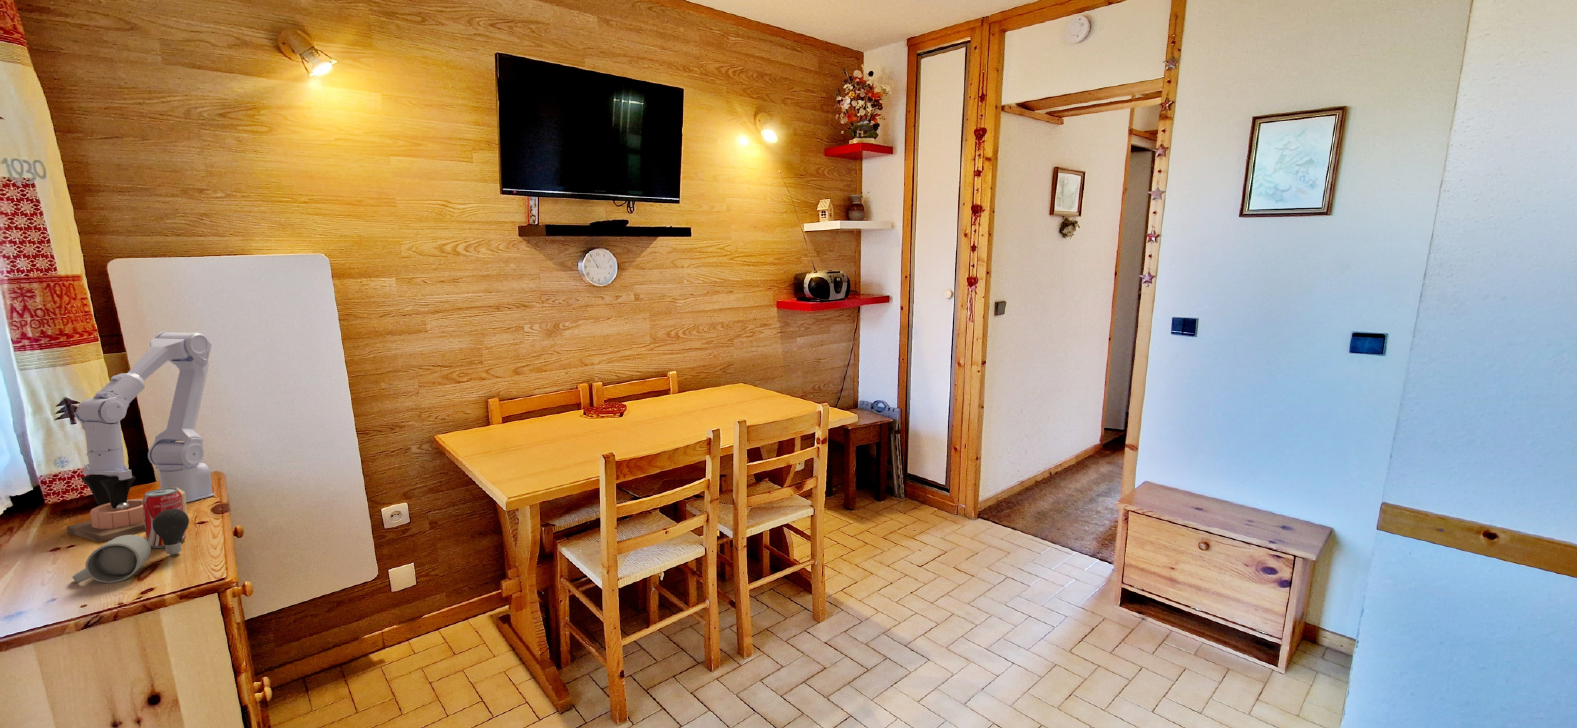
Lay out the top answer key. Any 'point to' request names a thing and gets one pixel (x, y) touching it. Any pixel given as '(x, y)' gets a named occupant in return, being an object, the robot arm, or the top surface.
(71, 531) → the hook board
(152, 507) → the soda can
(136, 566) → the ceramic mug
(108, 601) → the top surface
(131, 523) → the coral ring
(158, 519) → the light bulb
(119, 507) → the hook peg
